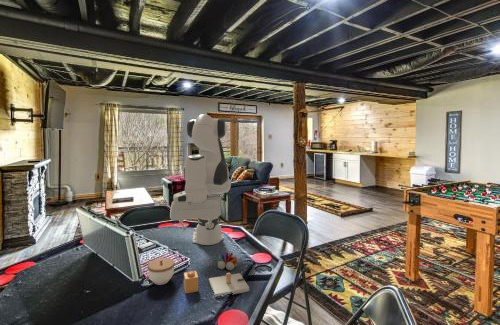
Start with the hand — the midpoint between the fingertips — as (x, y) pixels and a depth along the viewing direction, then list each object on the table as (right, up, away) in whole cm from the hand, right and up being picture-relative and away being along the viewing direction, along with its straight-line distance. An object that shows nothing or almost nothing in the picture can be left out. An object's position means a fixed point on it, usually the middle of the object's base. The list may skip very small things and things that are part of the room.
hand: (196, 228), depth 108 cm
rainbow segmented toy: (+11, -23, +19) cm, 32 cm away
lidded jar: (-16, -24, +6) cm, 29 cm away
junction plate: (+13, -25, +3) cm, 28 cm away
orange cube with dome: (-2, -24, 0) cm, 25 cm away
